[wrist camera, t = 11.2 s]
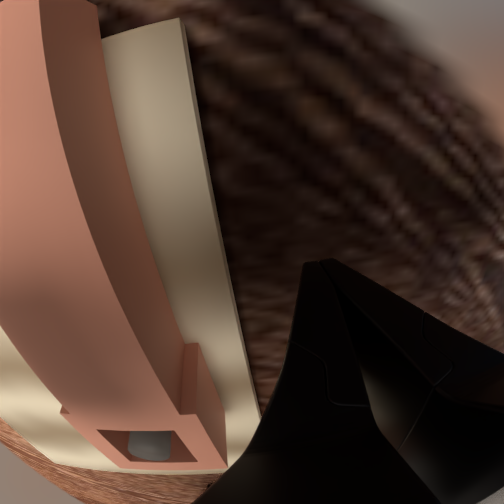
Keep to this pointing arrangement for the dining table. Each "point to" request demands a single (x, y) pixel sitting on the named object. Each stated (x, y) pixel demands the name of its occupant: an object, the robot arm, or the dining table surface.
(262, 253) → the dining table surface
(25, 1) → the link
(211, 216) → the board
